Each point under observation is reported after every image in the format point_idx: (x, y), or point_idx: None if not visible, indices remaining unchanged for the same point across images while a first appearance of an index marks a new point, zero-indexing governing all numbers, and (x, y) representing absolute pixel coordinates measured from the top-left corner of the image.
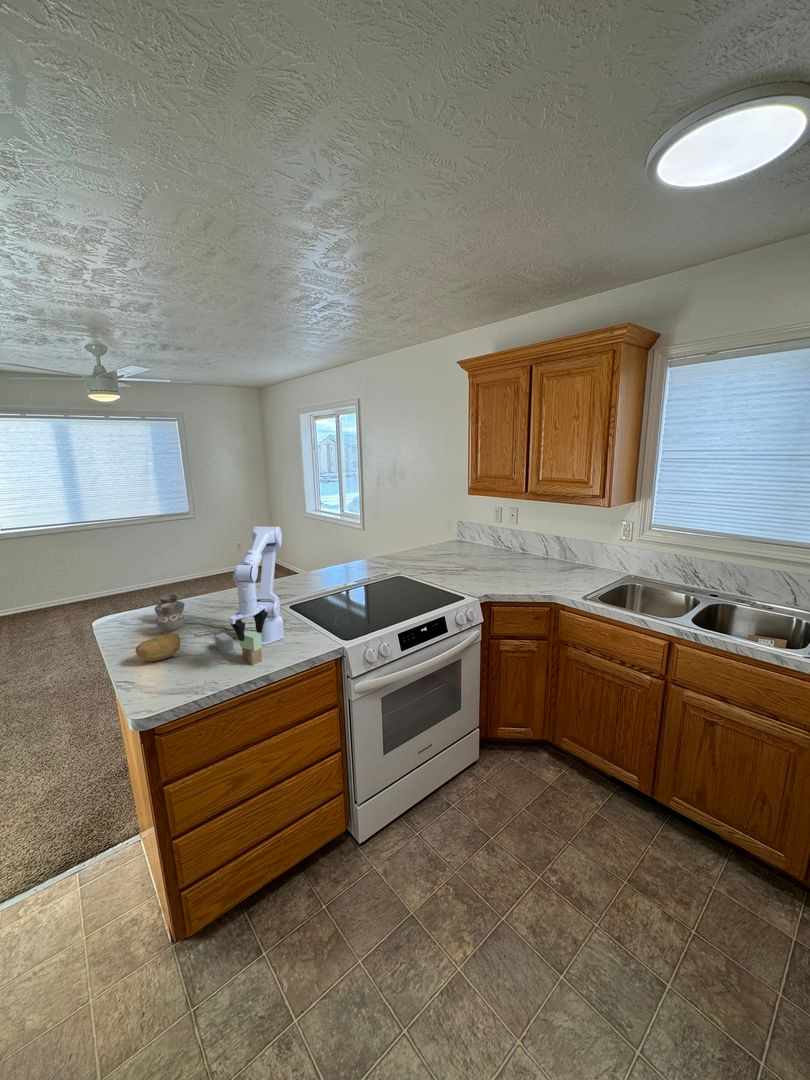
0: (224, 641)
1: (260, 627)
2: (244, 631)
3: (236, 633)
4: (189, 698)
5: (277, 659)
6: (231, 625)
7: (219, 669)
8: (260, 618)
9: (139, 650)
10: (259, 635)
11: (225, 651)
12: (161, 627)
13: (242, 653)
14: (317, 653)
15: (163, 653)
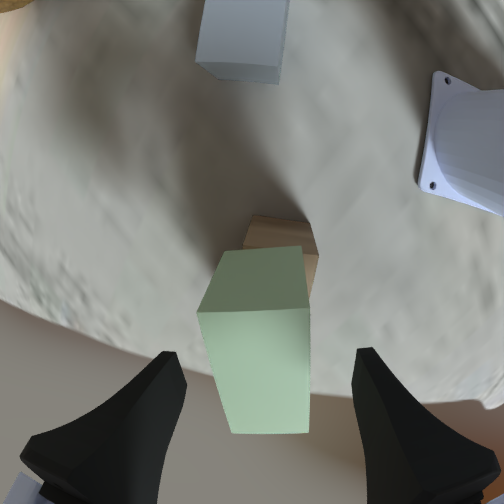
0: (206, 62)
1: (360, 423)
2: (262, 318)
3: (126, 387)
4: (25, 301)
5: (341, 349)
6: (52, 431)
7: (120, 221)
8: (374, 501)
9: None
10: (290, 431)
11: (224, 77)
12: None
13: (249, 225)
14: (430, 398)
15: (5, 9)
